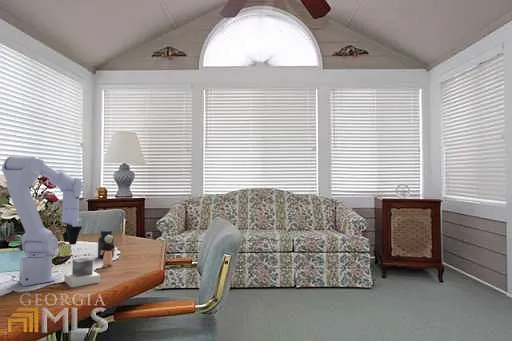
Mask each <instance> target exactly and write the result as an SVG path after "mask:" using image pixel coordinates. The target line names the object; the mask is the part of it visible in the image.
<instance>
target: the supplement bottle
mask: <svg viewBox="0 0 512 341" xmlns="http://www.w3.org/2000/svg"><path fill="white" fill-rule="evenodd" d="M107 235H111V236H112V237H113V239H112V242H111V244H113V245H114V246H115V237H114V236H113V231H112V230H110V229H105V230H101V231H100V234H99V237H98V238H97V258H98V259H103V257H104V253H105V251H104V252H103V254H102V255H100V253H101V249H102V248H103V246H104V245H105V244H106V241H105V239H104V238H105V237H106V236H107ZM114 252H115V251H113V249H112V258H114V256H115V255H114V254H115V253H114Z"/></svg>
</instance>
